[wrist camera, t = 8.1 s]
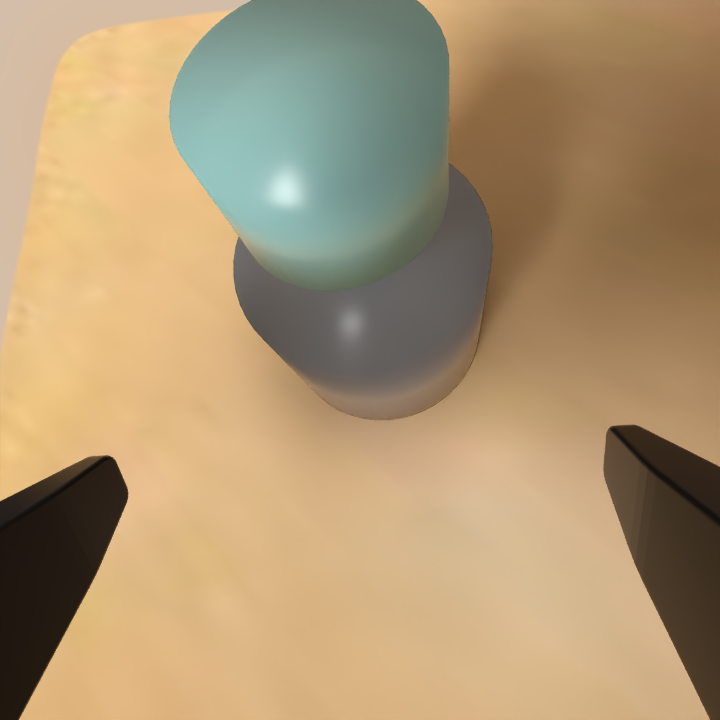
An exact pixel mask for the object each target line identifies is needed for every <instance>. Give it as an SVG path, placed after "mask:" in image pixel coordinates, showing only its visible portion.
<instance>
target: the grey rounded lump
mask: <svg viewBox="0 0 720 720" xmlns="http://www.w3.org/2000/svg"><path fill="white" fill-rule="evenodd" d="M491 257H492V231H491V226H490V222H489V217H488V214H487V212H486V209H485V207H484V204H483V202H482V200H481V198H480V197H479V195H478V193H477V192H476V190H475V189H474V187H473V186H472V185H471V184H470V182H469V181H468V180H467V179H466V177H464V176H463V175H462V174H461V173H460V172H459V171H458V170H457V169H456V168H455V167H453V166H452V165H450V164H449V193H448V201H447V206H446V209H445V213H444V216H443V219H442V221H441V223H440V225H439V227H438V229H437V231H436V233H435V234H434V236H433V237H432V239H431V240H430V242H429V243H428V244H427V245H426V246H425V248H424V249H423V250H422V251H421V252H420V253H419V254H418V255H417V256H416V257H415V258H414V259H413V260H412V261H411V262H409V263H408V264H406V265H405V266H404V267H402V268H401V269H400V270H398V271H396V272H394V273H393V274H391V275H389V276H387V277H386V278H383V279H381V280H379V281H376V282H374V283H371V284H368V285H364V286H361V287H358V288H352V289H346V290H335V291H323V290H312V289H307V288H302V287H298V286H295V285H292V284H290V283H287V282H285V281H283V280H281V279H279V278H277V277H275V276H274V275H272V274H271V273H270V272H268V271H267V270H265V269H264V268H263V267H262V266H261V265H260V264H259V263H258V262H257V261H256V259H255V258H254V257H253V255H252V254H251V253H250V251H249V250H248V248H247V247H246V246H245V244H244V243H243V241H242V240H241V239H240V237H238V240H237V244H236V248H235V255H234V283H235V289H236V293H237V297H238V300H239V303H240V306H241V308H242V310H243V312H244V314H245V316H246V318H247V320H248V321H249V322H250V324H251V325H252V327H253V328H254V330H255V331H256V332H257V333H258V334H259V335H260V336H261V337H262V338H263V340H264V341H265V342H266V343H267V344H268V345H269V346H270V347H271V348H272V349H273V350H274V351H275V352H276V353H277V354H278V355H279V356H280V357H281V358H282V359H283V360H284V361H285V362H286V363H287V364H288V365H289V366H290V367H291V368H292V369H293V370H294V371H295V372H296V373H297V374H298V375H299V376H300V377H301V378H302V379H303V380H304V381H305V382H306V383H307V384H308V385H309V386H310V387H311V388H312V389H313V390H314V391H315V392H316V393H317V394H318V395H319V396H320V397H321V398H322V399H323V400H325V401H326V402H327V403H328V404H330V405H331V406H333V407H335V408H336V409H338V410H340V411H342V412H345V413H347V414H349V415H353V416H356V417H360V418H365V419H372V420H391V419H399V418H404V417H407V416H411V415H414V414H417V413H419V412H422V411H424V410H426V409H428V408H430V407H432V406H433V405H435V404H437V403H438V402H440V401H441V400H442V399H444V398H445V397H446V396H447V395H448V394H450V393H451V392H452V391H453V390H454V389H455V388H456V387H457V385H458V384H459V383H460V381H461V380H462V379H463V378H464V376H465V374H466V373H467V371H468V369H469V367H470V365H471V363H472V360H473V358H474V356H475V352H476V348H477V344H478V338H479V332H480V326H481V320H482V314H483V308H484V302H485V296H486V290H487V284H488V278H489V272H490V266H491Z"/></svg>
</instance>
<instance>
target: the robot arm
mask: <svg viewBox="0 0 720 720" xmlns="http://www.w3.org/2000/svg"><path fill="white" fill-rule="evenodd" d="M604 477H605V481H606V484H607V487H608V490H609V492H610V495H611V498H612V501H613V504H614V507H615V510H616V512H617V515H618V518H619V521H620V524H621V527H622V530H623V532H624V535H625V538H626V541H627V544H628V547H629V550H630V552H631V555H632V558H633V560H634V563H635V565H636V568H637V570H638V572H639V574H640V576H641V579H642V581H643V583H644V585H645V587H646V589H647V591H648V593H649V595H650V597H651V599H652V601H653V603H654V605H655V607H656V609H657V611H658V614H659V616H660V618H661V620H662V622H663V624H664V626H665V628H666V630H667V632H668V634H669V636H670V638H671V640H672V642H673V644H674V646H675V648H676V650H677V653H678V655H679V657H680V659H681V661H682V663H683V665H684V667H685V669H686V671H687V673H688V675H689V677H690V679H691V681H692V683H693V685H694V687H695V690H696V692H697V694H698V696H699V698H700V700H701V702H702V704H703V706H704V708H705V710H706V712H707V714H708V716H709V718H710V720H720V467H719V466H717V465H715V464H713V463H711V462H709V461H707V460H705V459H703V458H701V457H699V456H697V455H695V454H693V453H691V452H689V451H687V450H685V449H683V448H681V447H679V446H677V445H675V444H673V443H671V442H669V441H667V440H665V439H663V438H661V437H659V436H657V435H655V434H653V433H651V432H649V431H647V430H645V429H644V428H642V427H639V426H637V425H620V426H611V427H610V428H609V429H608V431H607V434H606V444H605V455H604ZM127 500H128V489H127V486H126V484H125V481H124V479H123V477H122V474H121V472H120V470H119V467H118V465H117V463H116V461H115V459H114V458H113V457H111V456H108V455H106V456H91V457H87V458H85V459H83V460H81V461H79V462H77V463H75V464H73V465H71V466H69V467H67V468H65V469H63V470H61V471H59V472H57V473H55V474H53V475H51V476H49V477H47V478H45V479H44V480H42V481H40V482H38V483H36V484H34V485H32V486H30V487H28V488H26V489H24V490H22V491H20V492H18V493H16V494H14V495H12V496H10V497H8V498H6V499H4V500H2V501H0V720H19V719H20V717H21V715H22V713H23V711H24V709H25V707H26V705H27V704H28V702H29V700H30V698H31V696H32V694H33V692H34V691H35V689H36V687H37V685H38V683H39V681H40V679H41V677H42V676H43V674H44V672H45V670H46V668H47V666H48V664H49V662H50V661H51V659H52V657H53V655H54V653H55V651H56V649H57V647H58V646H59V644H60V642H61V640H62V638H63V636H64V634H65V632H66V631H67V629H68V627H69V625H70V623H71V621H72V619H73V617H74V616H75V614H76V612H77V610H78V608H79V606H80V604H81V603H82V601H83V599H84V597H85V595H86V593H87V591H88V589H89V588H90V586H91V584H92V582H93V580H94V578H95V576H96V574H97V571H98V569H99V567H100V565H101V563H102V560H103V558H104V555H105V553H106V551H107V548H108V546H109V544H110V541H111V539H112V536H113V534H114V532H115V529H116V527H117V525H118V522H119V520H120V517H121V515H122V513H123V510H124V508H125V506H126V503H127Z"/></svg>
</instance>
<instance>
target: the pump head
mask: <svg viewBox="0 0 720 720" xmlns="http://www.w3.org/2000/svg"><path fill="white" fill-rule="evenodd" d="M169 119H170V128H171V133H172V136H173V140H174V143H175V145H176V147H177V149H178V151H179V153H180V155H181V157H182V158H183V160H184V161H185V162H186V164H187V165H188V166H189V168H190V169H191V171H192V172H193V173H194V175H195V176H196V178H197V179H198V180H199V182H200V183H201V185H202V186H203V187H204V189H205V190H206V191H207V193H208V194H209V196H210V197H211V198H212V200H213V201H214V203H215V204H216V205H217V207H218V208H219V210H220V211H221V212H222V214H223V215H224V216H225V218H226V219H227V221H228V222H229V223H230V225H231V226H232V228H233V229H234V230H235V232H236V233H237V235H238V236H239V237H240V239H241V240H242V241H243V243H244V244H245V246H246V247H247V248H248V250H249V251H250V253H251V254H252V255H253V257H254V258H255V259H256V261H257V262H258V263H259V264H260V265H261V266H262V267H263V268H264V269H265V270H267V271H268V272H270V273H271V274H272V275H274V276H275V277H277V278H279V279H281V280H283V281H285V282H287V283H290V284H292V285H295V286H298V287H302V288H307V289H312V290H323V291H335V290H346V289H352V288H358V287H361V286H364V285H368V284H371V283H374V282H376V281H379V280H381V279H383V278H386V277H387V276H389V275H391V274H393V273H394V272H396V271H398V270H400V269H401V268H402V267H404V266H405V265H406V264H408V263H409V262H411V261H412V260H413V259H414V258H415V257H416V256H417V255H418V254H419V253H420V252H421V251H422V250H423V249H424V248H425V246H426V245H427V244H428V243H429V242H430V240H431V239H432V237H433V236H434V234H435V233H436V231H437V229H438V227H439V225H440V223H441V221H442V219H443V216H444V213H445V209H446V206H447V201H448V193H449V53H448V49H447V44H446V40H445V37H444V35H443V33H442V30H441V28H440V26H439V25H438V23H437V21H436V20H435V18H434V17H433V15H432V14H431V13H430V12H429V11H428V10H427V9H426V8H425V7H424V6H423V5H422V4H421V3H419V2H418V1H417V0H251V1H250V2H248V3H246V4H244V5H242V6H241V7H239V8H238V9H236V10H235V11H233V12H232V13H230V14H229V15H227V16H226V17H225V18H224V19H222V20H221V21H220V22H219V23H217V24H216V25H215V26H214V27H213V28H212V29H211V30H210V31H209V32H208V33H207V34H206V35H205V36H204V37H203V38H202V39H201V40H200V41H199V43H198V44H197V45H196V46H195V47H194V49H193V50H192V51H191V53H190V54H189V56H188V58H187V59H186V61H185V62H184V64H183V66H182V68H181V70H180V72H179V74H178V76H177V79H176V82H175V84H174V87H173V91H172V95H171V100H170V111H169Z"/></svg>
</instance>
